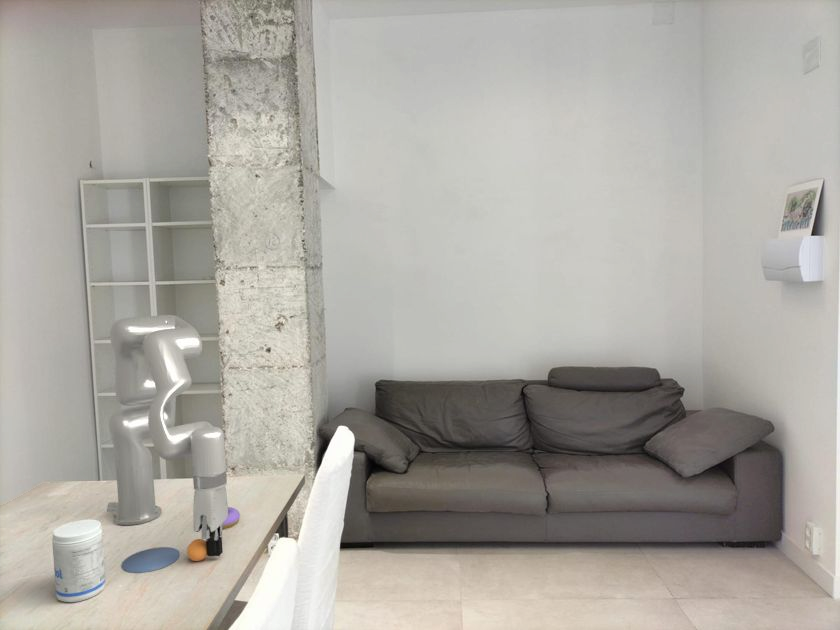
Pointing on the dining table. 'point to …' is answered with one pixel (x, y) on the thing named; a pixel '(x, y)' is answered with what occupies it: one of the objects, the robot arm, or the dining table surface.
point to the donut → (231, 518)
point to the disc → (150, 559)
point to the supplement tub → (78, 560)
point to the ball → (197, 550)
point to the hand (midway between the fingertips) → (214, 554)
